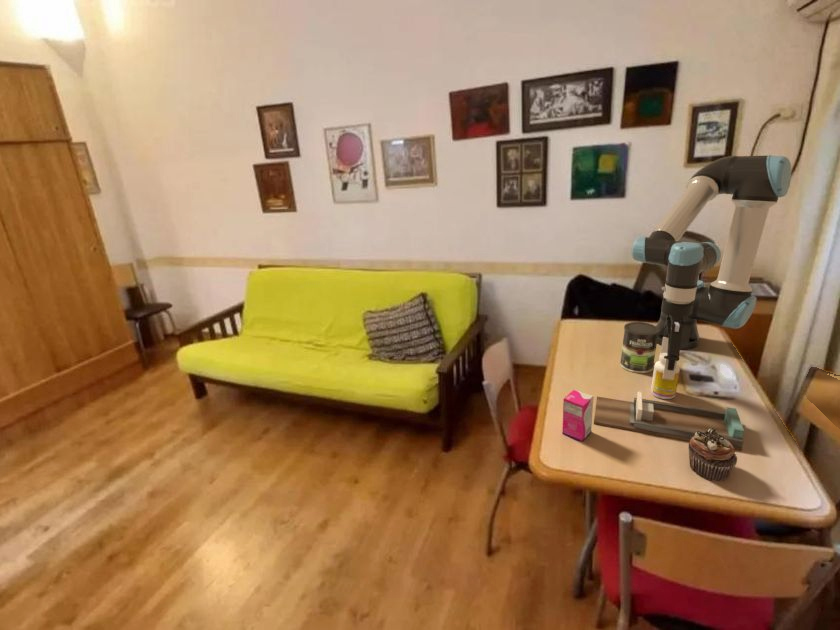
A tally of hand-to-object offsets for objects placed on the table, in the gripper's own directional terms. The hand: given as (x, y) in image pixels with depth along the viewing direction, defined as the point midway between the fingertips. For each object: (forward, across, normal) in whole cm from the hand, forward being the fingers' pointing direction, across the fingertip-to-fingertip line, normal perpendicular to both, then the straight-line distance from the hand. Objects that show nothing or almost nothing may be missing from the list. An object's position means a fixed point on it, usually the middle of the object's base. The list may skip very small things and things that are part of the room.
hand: (666, 367), depth 128 cm
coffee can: (+9, -16, -7) cm, 20 cm away
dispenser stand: (+10, +14, 0) cm, 17 cm away
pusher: (+8, +15, -5) cm, 18 cm away
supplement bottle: (+10, 0, 0) cm, 10 cm away
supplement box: (+10, +26, -22) cm, 36 cm away
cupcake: (+10, +30, +8) cm, 33 cm away
